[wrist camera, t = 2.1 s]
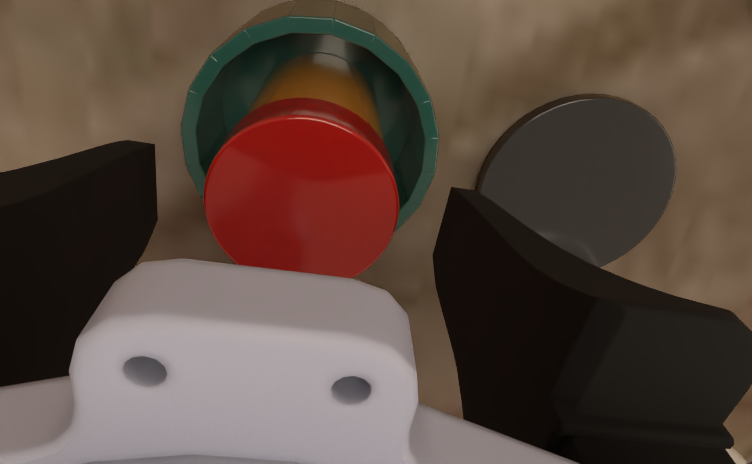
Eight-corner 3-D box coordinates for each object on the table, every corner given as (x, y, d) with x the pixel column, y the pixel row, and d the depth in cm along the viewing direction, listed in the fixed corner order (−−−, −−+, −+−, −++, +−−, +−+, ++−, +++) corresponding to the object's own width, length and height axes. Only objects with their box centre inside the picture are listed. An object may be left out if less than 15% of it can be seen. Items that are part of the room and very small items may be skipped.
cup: (259, 222, 22) (241, 281, 18) (176, 34, 18) (133, 61, 14) (439, 175, 21) (458, 226, 17) (393, -31, 17) (405, -21, 13)
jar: (279, 186, 20) (247, 307, 14) (232, 68, 18) (167, 147, 12) (396, 155, 20) (418, 265, 13) (363, 30, 18) (370, 90, 11)
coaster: (490, 286, 24) (493, 294, 23) (459, 125, 20) (462, 130, 19) (666, 244, 23) (674, 251, 23) (671, 67, 19) (680, 71, 19)
